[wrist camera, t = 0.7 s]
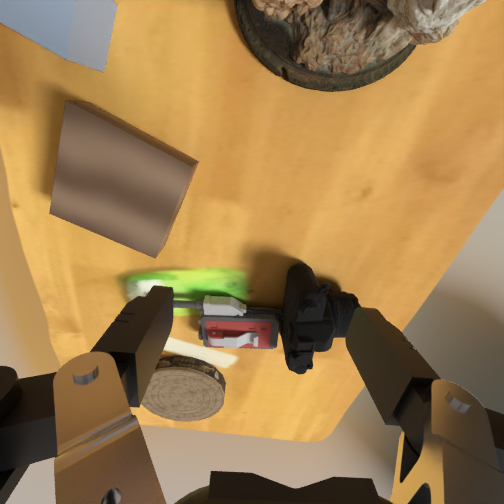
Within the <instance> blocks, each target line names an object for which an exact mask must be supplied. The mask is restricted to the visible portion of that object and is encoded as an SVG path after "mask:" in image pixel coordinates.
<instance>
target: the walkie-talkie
mask: <svg viewBox="0 0 504 504" xmlns="http://www.w3.org/2000/svg"><path fill="white" fill-rule="evenodd" d="M173 307H174V308H196V309H203V310H200V315H202V317H201V319H199V321H198V324H201V326H200V328H199V339H200V340H202V339H203V344H204V346H206V347H214V348H254V349H255V348H258V349H259V348H260V349H273V348H276V347H277V340H278V331H279V320H283V315H284V311H283V310H277V309H275V308H274V307H273V308H271V307H246V304H243V303H241V302H240V301H238V300H236V299H235V298H233V297H218V296H210V295H205V298H204V300H196V301H179V300H173ZM278 314H282V316H278Z"/></svg>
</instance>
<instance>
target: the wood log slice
mask: <svg viewBox="0 0 504 504" xmlns="http://www.w3.org/2000/svg"><path fill="white" fill-rule="evenodd" d="M225 385H226V382H225V380H224V377H223V375H222V374H221V373H220V372H219V371H218V369H217V368H216V367H214V366H212V365H211V364H209V363H207V362H205V361H203V360H199V359H196V358H193V357H185V356H172V357H165V358H162V359H159V361H158V363H157V366H156V368H155V371H154V373H153V375H152V378H151V380H150V383H149V385H148V387H147V390H146V392H145V395H144V397H143V400H142V402H141V404H142V405H143V406H144V407H145V408H146V409H148V410H149V411H150V412H152V413H154V414H156V415H158V416H160V417H163V418H166V419H170V420H175V421H187V422H188V421H198V420H202V419H205V418H209V417H211V416H213V415H214V414H216V413H217V412H219V410H220V409H221V407H222V406H223V404H224V395H225Z"/></svg>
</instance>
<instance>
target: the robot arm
mask: <svg viewBox="0 0 504 504" xmlns="http://www.w3.org/2000/svg"><path fill="white" fill-rule="evenodd" d="M172 324H173V288H172V287H165V286H155V285H154V286H153V287H152V288H151V290H150V291H149V293H148V294H147V296H146V297H142V296H138V297H136V298H135V299H133V300H132V301H130V302H128V303H127V304H126V306H125V307H124V308H123V310H122V311H121V312H120V314H119V315H118V316H117V317H116V319H115V321H114V322H113V323H112V324H111V325H110V326H109V328H108V329H107V330H106V332H105V333H104V334H103V336H102V337H101V338H100V339H99V341H98V342H97V343H96V345H95V346H94V347H93V349H92V350H91V351H90V352H89V353H85V354H82V355H79V356H77V357H75V358H73V359H71V360H70V361H68V362H67V363H65V364H64V365H63V366H62V367H61V368H60V369H59V370H58V372H54V373H50V374H45V375H39V376H34V377H27V378H22V379H18V376H17V373H16V371H15V370H14V369H13V368H11V367H7V366H0V504H5V503H6V501H7V500H8V498H9V497H10V495H11V493H12V492H13V490H14V489H15V487H16V485H17V484H18V482H19V481H20V479H21V478H22V476H23V474H24V473H25V471H26V470H27V468H28V466H29V465H30V464H32V463H35V462H39V461H42V460H45V459H49V458H52V457H55V460H54V476H55V495H56V504H166V501H165V498H164V496H163V492H162V490H161V487H160V484H159V481H158V478H157V475H156V472H155V469H154V466H153V463H152V460H151V457H150V454H149V451H148V449H147V445H146V442H145V439H144V436H143V433H142V430H141V427H140V425H139V422H138V419H137V417H136V416H135V415H132V413H131V410H130V407H140V404H141V402H142V400H143V397H144V395H145V392H146V390H147V387H148V385H149V383H150V380H151V378H152V375H153V373H154V371H155V368H156V366H157V363H158V361H159V358H160V356H161V354H162V351H163V349H164V346H165V344H166V341H167V339H168V337H169V334H170V332H171V328H172ZM346 347H347V349H348V351H349V353H350V355H351V357H352V359H353V361H354V363H355V365H356V367H357V369H358V371H359V373H360V375H361V377H362V379H363V381H364V383H365V385H366V387H367V389H368V391H369V392H370V395H371V397H372V399H373V400H374V403H375V405H376V407H377V409H378V411H379V412H380V414H381V416H382V418H383V420H384V422H385V424H386V425H396V426H401V428H402V430H403V432H402V434H401V435H400V438H399V446H398V454H397V462H396V470H395V478H394V486H393V491H392V495H391V498H390V500H389V501H388V500H386V499H384V498H382V497H380V496H378V494H377V491H376V489H375V486H374V483H373V480H372V479H369V478H348V477H332V478H329V479H326V480H323V481H320V482H317V483H313V484H310V485H308V486H305V487H301V488H297V489H294V488H290V487H288V486H285V485H283V484H280V483H277V482H275V481H272V480H269V479H267V478H264V477H262V476H259V475H256V474H253V473H244V472H222V471H211V475H210V484H209V486H206V487H202V488H199V489H197V490H195V491H193V492H191V493H189V494H187V495H186V496H185V497H183V498H181V499H180V500H178V501H177V502H176V503H175V504H504V414H501V413H498V412H495V411H493V410H490V409H487V408H484V406H483V405H482V404H481V403H480V401H479V400H478V399H476V397H475V396H473V395H472V394H471V393H470V392H468V391H467V390H466V389H464V388H462V387H461V386H459V385H457V384H455V383H452V382H450V381H447V380H442V379H441V378H440V377H439V376H438V375H437V374H436V372H435V371H434V370H433V369H432V368H431V367H430V365H429V364H428V363H427V362H426V361H425V359H424V358H423V357H422V356H421V355H420V354H419V352H418V351H417V350H415V349H414V346H413V345H412V344H411V343H410V342H408V339H407V338H406V337H405V336H404V335H403V333H402V332H401V331H400V330H399V329H398V328H396V327H395V326H394V325H392V324H391V323H390V322H388V321H387V320H386V319H385V318H384V317H383V315H382V314H381V313H380V312H379V311H378V310H377V309H375V308H365V307H357V308H356V309H355V311H354V314H353V317H352V320H351V322H350V325H349V328H348V330H347V333H346Z"/></svg>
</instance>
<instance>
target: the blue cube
mask: <svg viewBox="0 0 504 504" xmlns="http://www.w3.org/2000/svg"><path fill="white" fill-rule="evenodd" d="M117 5H118V4H117V3H116V2H114V1H113V0H0V23H2V24H4V25H6V26H7V27H9V28H11V29H13V30H14V31H16V32H18V33H20V34H21V35H23V36H25V37H27V38H29V39H30V40H32V41H34V42H36V43H37V44H39V45H41V46H43V47H44V48H46V49H48V50H50V51H52V52H53V53H55V54H57V55H59V56H60V57H62V58H64V59H66V60H68V61H71V62H74V63H77V64H80V65H83V66H86V67H89V68H92V69H95V70H98V71H101V72H104V71H105V66H106V60H107V55H108V50H109V45H110V40H111V35H112V30H113V25H114V20H115V15H116V10H117Z"/></svg>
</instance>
